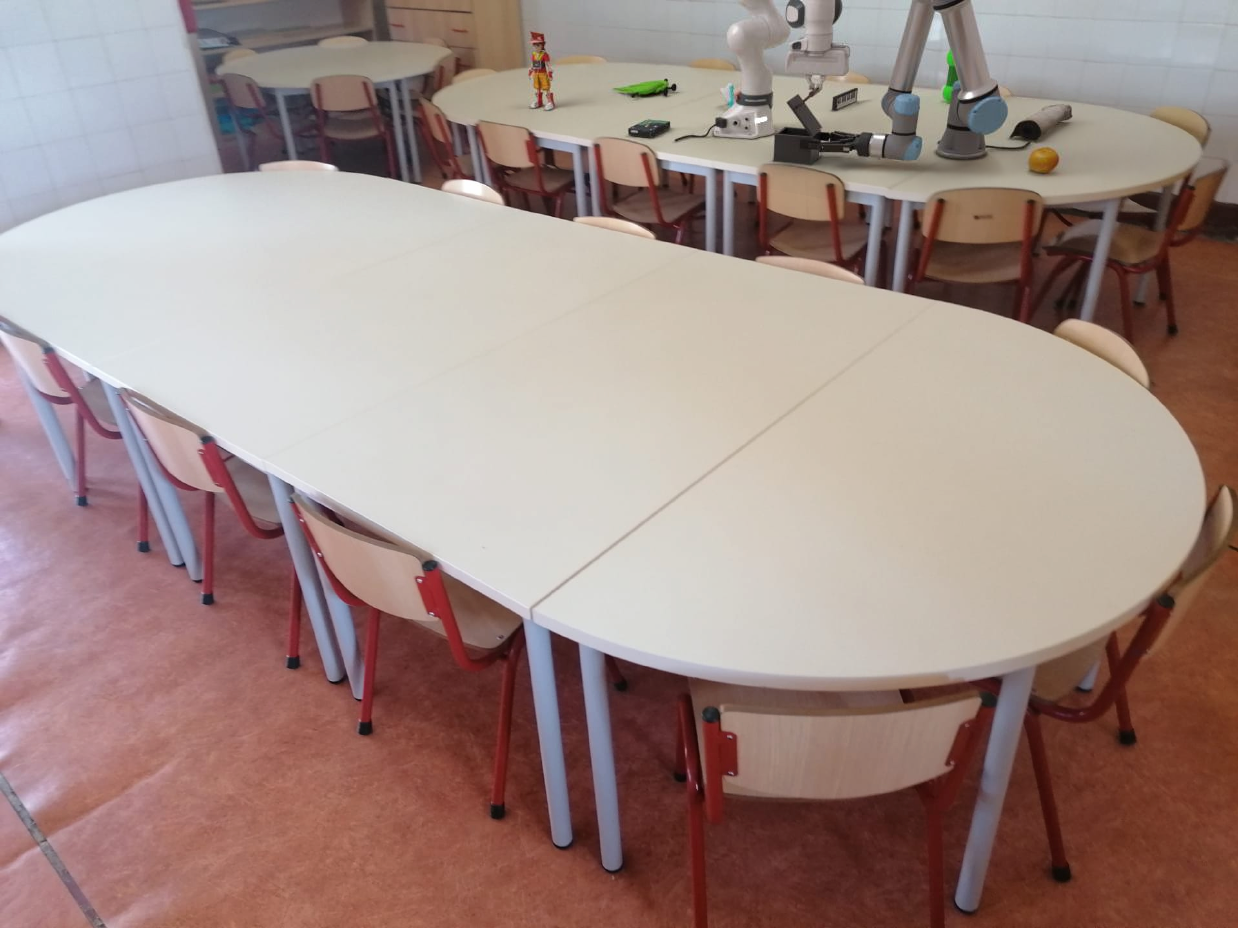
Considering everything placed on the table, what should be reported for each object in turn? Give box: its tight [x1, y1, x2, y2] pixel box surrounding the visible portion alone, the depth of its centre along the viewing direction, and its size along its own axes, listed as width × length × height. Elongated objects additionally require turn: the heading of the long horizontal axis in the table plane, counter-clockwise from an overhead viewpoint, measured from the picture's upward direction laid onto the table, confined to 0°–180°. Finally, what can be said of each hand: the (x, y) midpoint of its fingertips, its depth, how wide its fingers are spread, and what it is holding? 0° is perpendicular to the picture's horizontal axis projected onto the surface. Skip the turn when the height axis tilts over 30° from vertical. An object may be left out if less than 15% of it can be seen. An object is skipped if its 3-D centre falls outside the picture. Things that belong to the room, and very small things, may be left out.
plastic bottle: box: [942, 49, 959, 104], centre depth 348 cm, size 10×10×25 cm
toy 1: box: [527, 31, 556, 111], centre depth 374 cm, size 12×9×30 cm
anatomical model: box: [719, 82, 742, 108], centre depth 364 cm, size 15×10×10 cm
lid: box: [786, 86, 823, 136], centre depth 293 cm, size 14×10×8 cm
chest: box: [772, 126, 822, 166], centre depth 302 cm, size 13×10×9 cm
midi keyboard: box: [831, 87, 859, 111], centre depth 357 cm, size 18×1×5 cm, turn 138°
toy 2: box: [612, 78, 677, 99], centre depth 396 cm, size 28×5×30 cm
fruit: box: [1027, 147, 1060, 174], centre depth 278 cm, size 8×8×8 cm
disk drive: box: [627, 118, 671, 138], centre depth 341 cm, size 10×3×15 cm
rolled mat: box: [1009, 103, 1073, 142], centre depth 315 cm, size 30×9×10 cm
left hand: (815, 89), depth 289 cm, fingers closed, pressing on lid
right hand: (805, 139), depth 299 cm, fingers closed on chest, 10 cm apart
